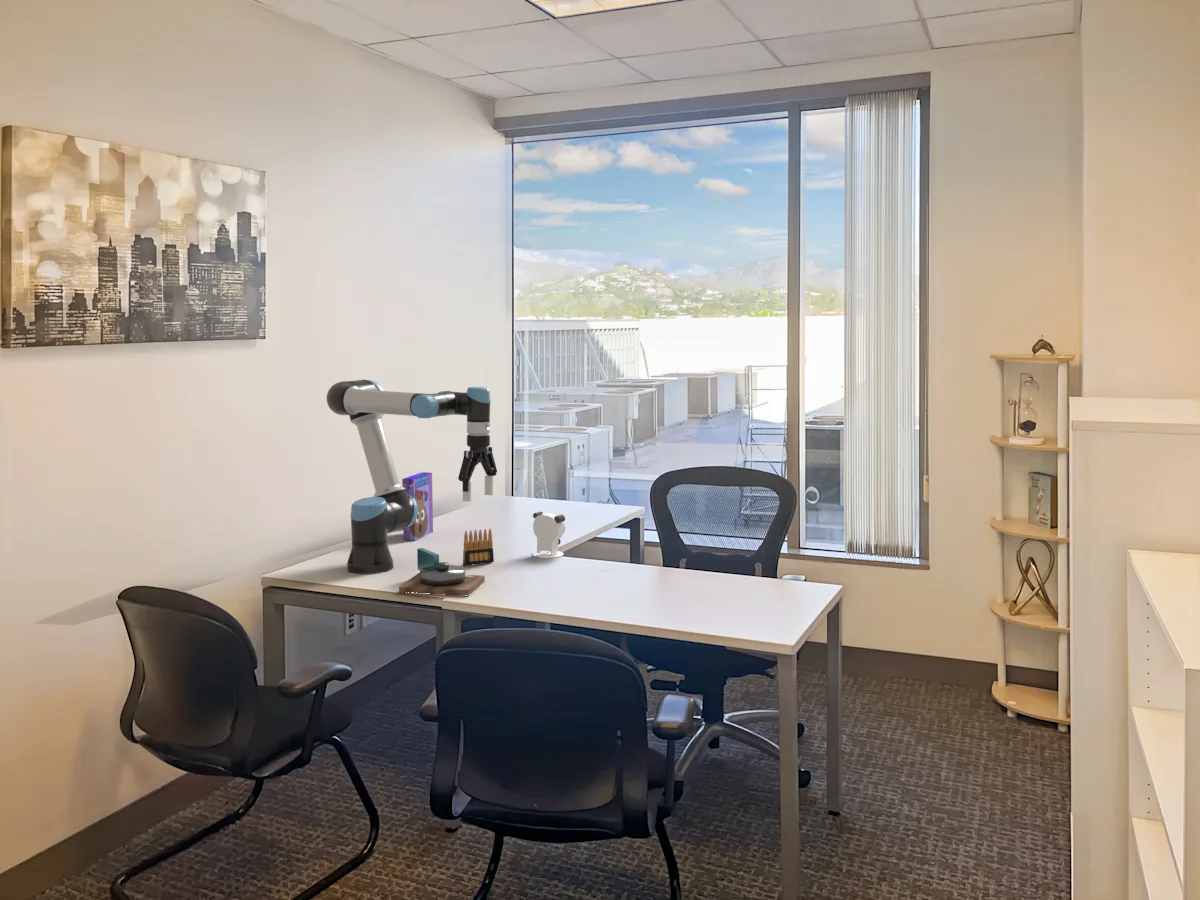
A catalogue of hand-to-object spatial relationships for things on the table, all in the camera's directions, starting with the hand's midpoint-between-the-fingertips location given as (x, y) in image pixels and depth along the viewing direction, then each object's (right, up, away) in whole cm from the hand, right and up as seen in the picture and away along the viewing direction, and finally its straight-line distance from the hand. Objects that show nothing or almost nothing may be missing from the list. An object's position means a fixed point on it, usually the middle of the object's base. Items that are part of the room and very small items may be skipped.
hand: (477, 498), depth 332 cm
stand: (-9, -27, -18) cm, 34 cm away
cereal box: (-30, -18, +59) cm, 69 cm away
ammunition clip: (-2, -24, +14) cm, 28 cm away
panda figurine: (+22, -22, +28) cm, 41 cm away
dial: (-11, -24, -14) cm, 30 cm away
